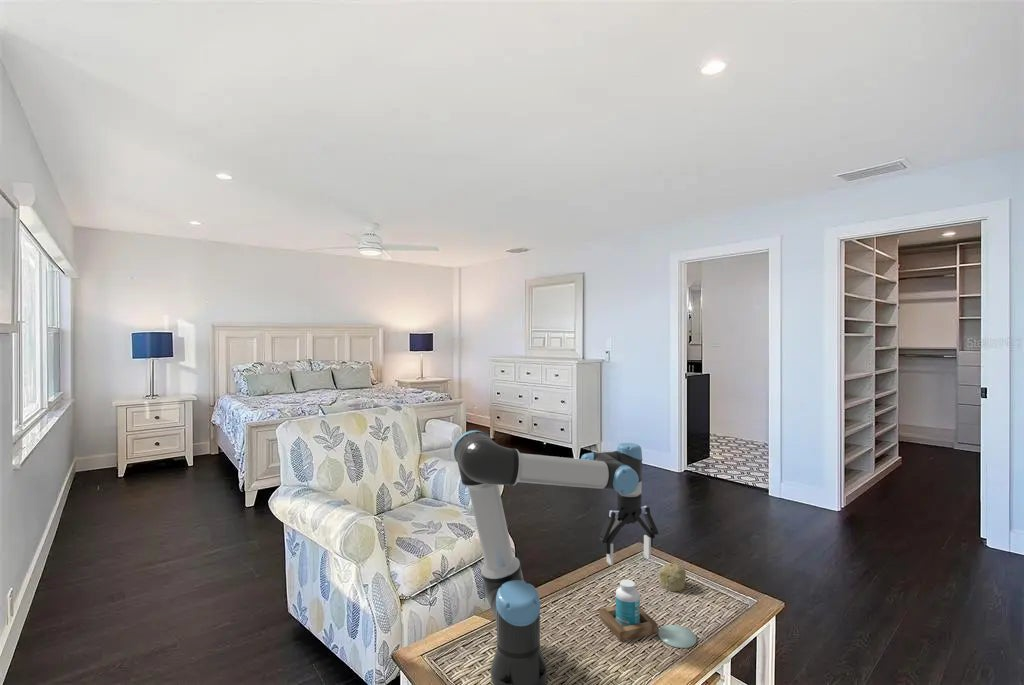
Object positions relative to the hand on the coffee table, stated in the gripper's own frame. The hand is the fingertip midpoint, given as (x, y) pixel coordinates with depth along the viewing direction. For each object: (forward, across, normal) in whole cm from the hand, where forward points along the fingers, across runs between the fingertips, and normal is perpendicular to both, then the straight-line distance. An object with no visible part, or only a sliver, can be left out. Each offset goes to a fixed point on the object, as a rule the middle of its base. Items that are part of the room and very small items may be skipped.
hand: (628, 560), depth 158 cm
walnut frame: (+20, 0, 0) cm, 21 cm away
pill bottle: (+21, 0, 0) cm, 21 cm away
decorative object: (+20, +28, +15) cm, 38 cm away
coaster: (+20, +10, -11) cm, 25 cm away
